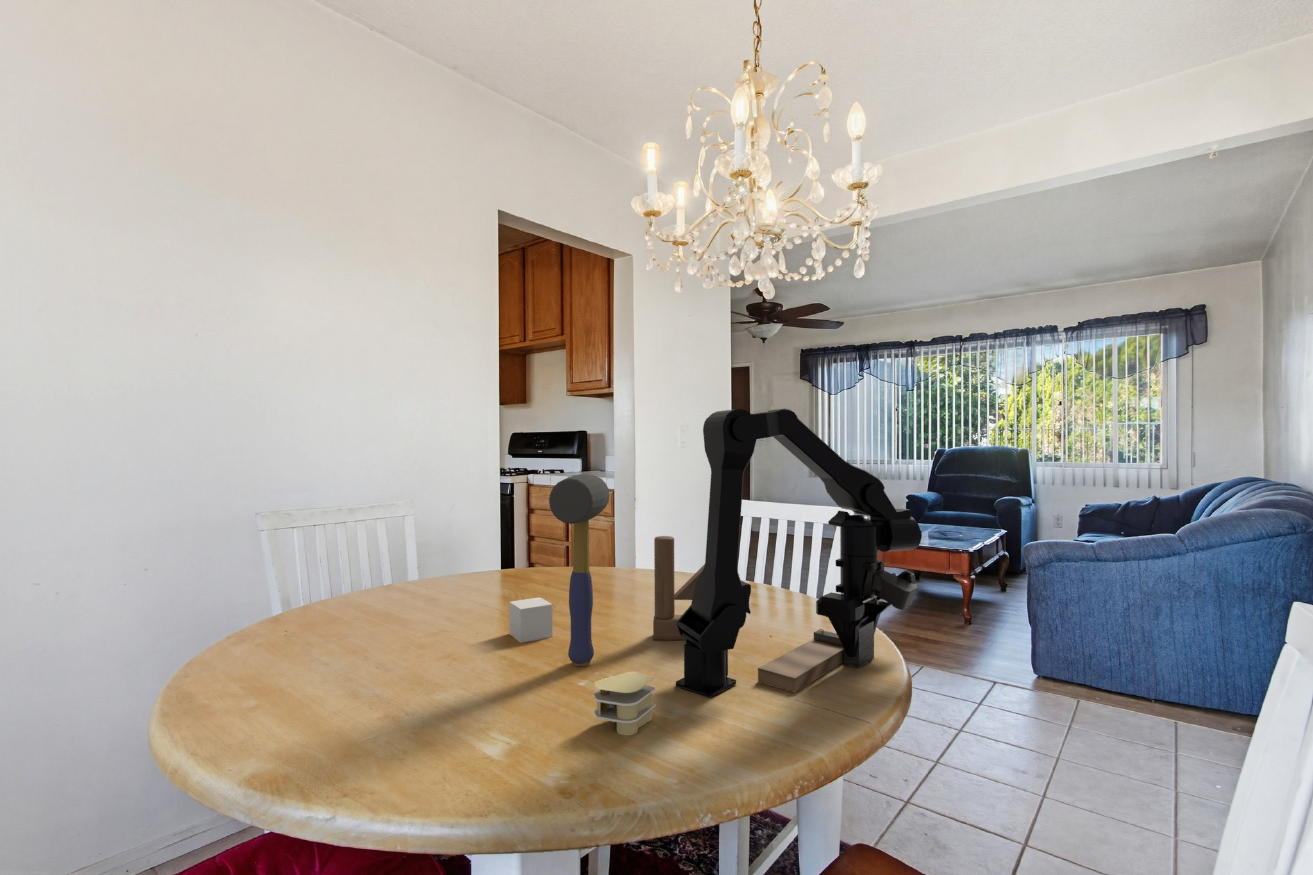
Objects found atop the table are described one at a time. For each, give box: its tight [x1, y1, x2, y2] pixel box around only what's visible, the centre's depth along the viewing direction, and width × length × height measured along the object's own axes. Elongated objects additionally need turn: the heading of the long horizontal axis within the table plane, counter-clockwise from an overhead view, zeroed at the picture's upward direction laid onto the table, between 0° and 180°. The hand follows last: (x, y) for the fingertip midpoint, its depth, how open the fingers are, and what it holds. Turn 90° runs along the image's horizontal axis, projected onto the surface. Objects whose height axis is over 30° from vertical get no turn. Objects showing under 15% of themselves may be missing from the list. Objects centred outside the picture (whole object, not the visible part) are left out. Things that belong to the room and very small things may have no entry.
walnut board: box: [757, 638, 844, 693], centre depth 95 cm, size 22×6×2 cm, turn 139°
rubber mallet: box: [548, 473, 611, 667], centre depth 96 cm, size 12×8×30 cm, turn 171°
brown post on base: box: [652, 535, 705, 641], centre depth 110 cm, size 4×11×18 cm, turn 88°
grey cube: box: [508, 597, 554, 644], centre depth 111 cm, size 6×6×6 cm
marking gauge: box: [813, 619, 875, 669], centre depth 99 cm, size 6×9×6 cm
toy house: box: [593, 670, 656, 736], centre depth 76 cm, size 10×9×6 cm
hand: (859, 651), depth 97 cm, fingers closed on marking gauge, 6 cm apart
